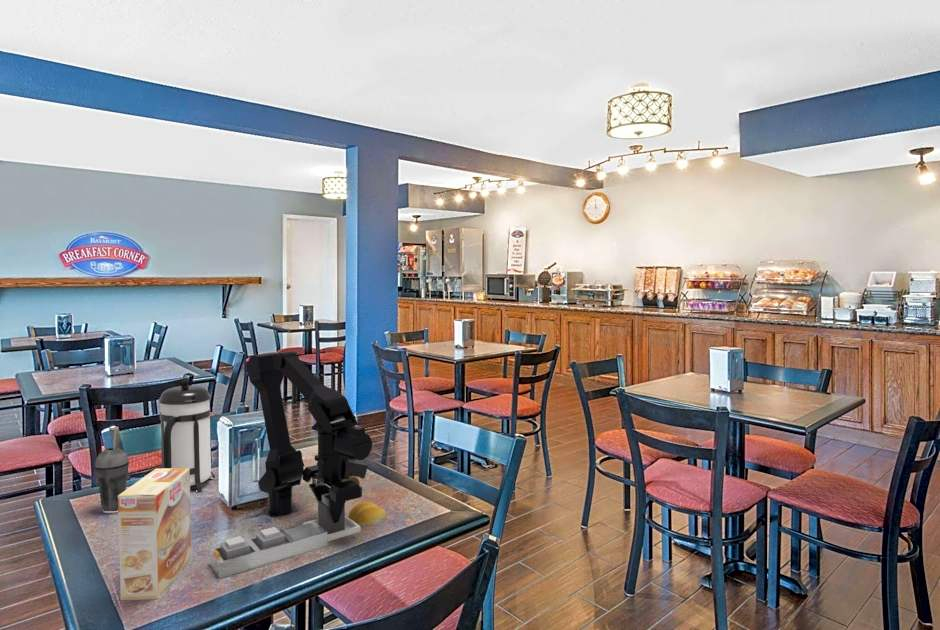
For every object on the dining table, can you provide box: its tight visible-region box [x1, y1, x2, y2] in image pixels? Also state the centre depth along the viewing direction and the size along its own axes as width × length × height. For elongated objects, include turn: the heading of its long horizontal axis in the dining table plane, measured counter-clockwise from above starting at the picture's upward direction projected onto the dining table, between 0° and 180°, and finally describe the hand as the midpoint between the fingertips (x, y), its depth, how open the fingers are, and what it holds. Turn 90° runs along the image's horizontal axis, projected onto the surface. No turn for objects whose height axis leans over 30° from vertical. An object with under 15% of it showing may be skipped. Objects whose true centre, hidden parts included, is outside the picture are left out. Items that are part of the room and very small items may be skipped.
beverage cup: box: [93, 428, 130, 511], centre depth 141 cm, size 7×7×20 cm
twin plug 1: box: [219, 535, 250, 561], centre depth 115 cm, size 4×4×5 cm
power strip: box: [208, 520, 329, 579], centre depth 119 cm, size 7×22×4 cm, turn 129°
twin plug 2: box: [255, 526, 285, 550], centre depth 119 cm, size 4×4×5 cm
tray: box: [302, 514, 362, 542], centre depth 131 cm, size 10×10×2 cm
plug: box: [317, 493, 346, 535], centre depth 131 cm, size 4×4×8 cm
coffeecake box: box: [117, 467, 192, 601], centre depth 109 cm, size 15×7×20 cm, turn 5°
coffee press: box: [158, 377, 216, 492], centre depth 157 cm, size 17×16×30 cm
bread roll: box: [348, 501, 387, 527], centre depth 138 cm, size 8×9×4 cm
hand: (331, 518), depth 131 cm, fingers closed on plug, 4 cm apart
